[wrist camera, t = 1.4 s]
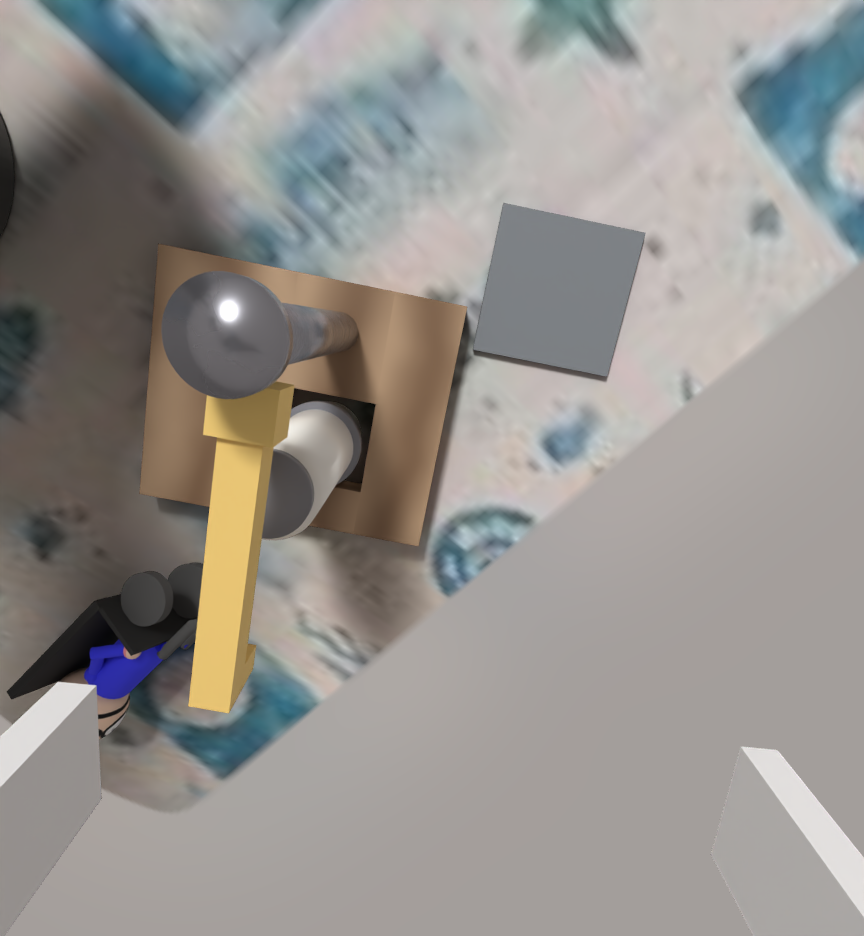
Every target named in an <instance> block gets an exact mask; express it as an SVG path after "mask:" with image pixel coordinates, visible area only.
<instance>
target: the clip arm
mask: <svg viewBox="0 0 864 936" xmlns="http://www.w3.org/2000/svg"><path fill="white" fill-rule="evenodd" d="M294 386H295V385H292V384H287V383H282V382H277V381H276V382H275V383H273V384H272V385H271V386H270V387H268V388H266V389H265V390H263V391H260V392H258V393H256V394H253V395H250V396H247V397H243V398H238V399H220V398H215V397H211V396H208V395H207V400H206V410H205V420H204V429H203V435H207V436H213V437H217V443H216V453H215V462H214V471H213V481H212V490H211V500H210V509H209V518H208V528H207V537H206V546H205V556H204V565H203V574H202V584H201V593H200V602H199V612H198V621H197V630H196V640H195V649H194V658H193V668H192V677H191V686H190V696H189V705H188V706H190V707H196V708H202V709H207V710H213V711H219V712H224V713H229V712H230V710H231V708H232V707H233V705H234V703H235V701H236V699H237V697H238V696H239V694H240V692H241V690H242V688H243V686H244V685H245V683H246V681H247V679H248V677H249V675H250V674H251V672H252V670H253V665H254V658H255V650H256V645H252V644H248V638H249V630H250V623H251V615H252V608H253V600H254V593H255V585H256V577H257V570H258V562H259V555H260V547H261V539H262V532H263V524H264V517H265V509H266V502H267V494H268V486H269V479H270V471H271V464H272V456H273V449H274V447H275V446H276V445H277V444H279V443H280V442H281V441H283V440H284V439H286V438H287V437H288V430H289V422H290V415H291V408H292V400H293V393H294Z"/></svg>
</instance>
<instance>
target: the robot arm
mask: <svg viewBox="0 0 864 936" xmlns="http://www.w3.org/2000/svg"><path fill="white" fill-rule="evenodd" d="M13 191H14V167H13V158H12V151H11V147H10V142H9V138H8V135H7V131H6V128H5V126H4V123H3V120H2V118H1V115H0V235H1V234H2V231H3V229H4V227H5V225H6V222H7V219H8V216H9V213H10V209H11V204H12V199H13ZM101 799H102V796H101V774H100V752H99V730H98V707H97V685H87V684H76V683H66V682H57V683H56V684H55V685H54V686H53V687H52V688H51V689H50V690H49V691H48V692H47V693H46V694H45V695H44V696H43V697H41V698H40V699H39V700H38V701H37V702H36V703H35V704H34V705H33V706H32V707H31V708H30V709H29V710H28V711H27V712H26V713H24V714H23V715H22V716H21V717H20V718H19V719H18V720H17V721H16V722H15V723H14V724H13V725H12V726H11V727H10V728H9V729H7V731H5V732H4V733H3V734H2V735H1V736H0V936H5V934H6V933H7V931H8V930H9V929H10V927H11V926H12V924H13V923H14V922H15V920H16V919H17V917H18V916H19V915H20V913H21V912H22V910H23V909H24V907H25V906H26V905H27V903H28V902H29V900H30V899H31V898H32V896H33V895H34V893H35V892H36V891H37V889H38V888H39V886H40V885H41V883H42V882H43V881H44V879H45V878H46V876H47V875H48V874H49V872H50V871H51V869H52V868H53V867H54V865H55V864H56V862H57V861H58V860H59V858H60V857H61V855H62V854H63V852H64V851H65V849H66V848H67V847H68V845H69V844H70V843H71V841H72V839H73V838H74V837H75V835H76V834H77V833H78V831H79V830H80V828H81V827H82V826H83V824H84V822H85V821H86V820H87V819H88V817H89V816H90V814H91V813H92V812H93V810H94V809H95V807H96V806H97V804H98V803H99V802H100V800H101ZM711 856H712V857H713V860H714V862H715V863H716V865H717V867H718V869H719V871H720V873H721V875H722V877H723V879H724V881H725V883H726V884H727V887H728V889H729V890H730V892H731V894H732V896H733V898H734V900H735V902H736V904H737V906H738V908H739V910H740V912H741V914H742V916H743V918H744V919H745V921H746V923H747V925H748V927H749V929H750V931H751V933H752V935H753V936H864V858H863V856H862V855H861V854H860V852H859V851H858V850H857V849H856V848H855V846H854V845H853V844H852V842H851V841H850V840H849V839H848V837H847V836H846V835H845V834H844V832H843V831H842V830H841V829H840V827H839V826H838V825H837V824H836V822H835V821H834V820H833V819H832V818H831V816H830V815H829V814H828V812H827V811H826V810H825V809H824V808H823V806H822V805H821V804H820V803H819V801H818V800H817V799H816V798H815V796H814V795H813V794H812V793H811V791H810V790H809V789H808V788H807V787H806V785H805V784H804V783H803V781H802V780H801V779H800V778H799V776H798V775H797V774H796V773H795V771H794V770H793V769H792V768H791V766H790V765H789V764H788V763H787V761H786V760H785V759H784V758H783V756H782V755H781V754H780V753H779V751H778V750H771V749H760V748H749V747H740V751H739V755H738V758H737V762H736V765H735V769H734V772H733V776H732V780H731V783H730V787H729V791H728V794H727V798H726V802H725V805H724V809H723V812H722V816H721V820H720V823H719V827H718V830H717V834H716V838H715V841H714V845H713V849H712V852H711Z"/></svg>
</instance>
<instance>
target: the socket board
mask: <svg viewBox="0 0 864 936" xmlns="http://www.w3.org/2000/svg"><path fill="white" fill-rule="evenodd" d="M211 271H225V272H232V273H236V274H239V275H243V276H247V277H250V278H252V279H254V280H257V281H258V282H260V283H262V284H263V285H265V286H266V287H267V288H269V289H270V290H271V291H272V292H273V293H274V294H275V295H276V296H277V298H278V299H279V300H280V301H281V303H288V304H294V305H300V306H307V307H313V308H319V309H326V310H332V311H338V312H344V313H346V314H348V315H350V316H351V317H352V318H353V319H354V320H355V322H356V324H357V326H358V338H357V341H356V343H355V344H354V345H353V346H352V347H351V348H350V349H348V350H345V351H342V352H338V353H334V354H330V355H326V356H322V357H318V358H314V359H310V360H306V361H302V362H298V363H294V364H290V365H287V367H286V369H285V371H284V372H283V374H282V375H281V376H280V378H279V379H278V380H277V382H282V383H287V384H292V385H295V386H294V388H297V389H302V390H307V391H312V392H317V393H322V394H327V395H332V396H337V397H343V398H348V399H353V400H358V401H363V402H368V403H373V404H376V406H375V411H374V417H373V423H372V429H371V434H370V440H369V446H368V452H367V458H366V463H365V469H364V475H363V481H362V484H360V483H355V482H350V481H345V480H343V481H342V482H340V483H339V484H337V485H336V486H335V487H334V489H333V490H332V492H331V493H330V495H329V496H328V498H327V500H326V501H325V503H324V504H323V506H322V507H321V509H320V510H319V512H318V513H317V515H316V516H315V518H314V519H313V521H312V522H311V523H310V525H309V526H313V527H319V528H324V529H329V530H335V531H340V532H345V533H350V534H356V535H361V536H366V537H372V538H377V539H382V540H388V541H393V542H398V543H404V544H409V545H414V546H419V541H420V536H421V532H422V527H423V522H424V517H425V512H426V507H427V502H428V497H429V492H430V487H431V482H432V477H433V473H434V468H435V463H436V458H437V453H438V448H439V443H440V438H441V433H442V428H443V423H444V418H445V414H446V409H447V404H448V399H449V394H450V389H451V384H452V379H453V374H454V369H455V364H456V359H457V355H458V350H459V345H460V340H461V335H462V330H463V325H464V320H465V315H466V310H467V306H462V305H457V304H452V303H447V302H442V301H437V300H432V299H427V298H423V297H418V296H413V295H408V294H403V293H398V292H393V291H388V290H383V289H378V288H374V287H369V286H364V285H359V284H354V283H349V282H344V281H339V280H334V279H329V278H325V277H320V276H315V275H310V274H305V273H300V272H295V271H290V270H285V269H280V268H276V267H271V266H266V265H261V264H256V263H251V262H246V261H241V260H236V259H231V258H227V257H222V256H217V255H212V254H207V253H202V252H197V251H192V250H187V249H182V248H178V247H173V246H168V245H163V244H158V254H157V267H156V281H155V294H154V307H153V320H152V334H151V347H150V360H149V373H148V387H147V400H146V413H145V426H144V440H143V453H142V466H141V479H140V493H139V494H143V495H149V496H154V497H159V498H165V499H170V500H175V501H180V502H186V503H191V504H196V505H202V506H207V507H210V500H211V490H212V481H213V471H214V462H215V453H216V443H217V437H213V436H207V435H203V429H204V420H205V410H206V400H207V395H206V394H203V393H201V392H199V391H197V390H196V389H194V388H193V387H191V386H190V385H188V384H187V383H186V382H185V381H184V380H183V379H182V378H181V377H180V376H179V375H178V374H177V373H176V371H175V370H174V368H173V367H172V365H171V363H170V362H169V360H168V358H167V355H166V352H165V350H164V346H163V342H162V334H161V326H162V318H163V313H164V310H165V307H166V305H167V303H168V300H169V299H170V297H171V296H172V294H173V293H174V292H175V290H176V289H177V288H178V287H179V286H180V285H181V284H183V283H184V282H185V281H187V280H188V279H190V278H192V277H194V276H196V275H198V274H202V273H205V272H211Z"/></svg>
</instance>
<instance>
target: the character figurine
mask: <svg viewBox="0 0 864 936" xmlns="http://www.w3.org/2000/svg"><path fill="white" fill-rule="evenodd" d="M203 565H204V564H202V563H189V564H184V565H181V566H179V567H177V568H176V569H174V570H173V571H172V573H171V574H170V576H169V578H168V580H167V579H166V578H165V577H164V576H163V575H161V574H159V573H157V572H153V571H147V572H143V573H138V574H135V575H133V576H131V577H130V578H129V579H128V580H127V581H126V582H125V584H124V586H123V588H122V592H121V594H120V595H116V596H112V597H108V598H104V599H100V600H96V601H94V602H93V603H92V604H91V605H90V606H89V607H88V608H87V609H86V610H85V611H84V612H83V613H82V614H81V615H80V616H79V618H78V619H77V620H76V621H75V622H74V623H73V624H72V625H71V626H70V627H69V628H68V629H67V630H66V631H65V632H64V633H63V634H62V635H61V636H60V637H59V638H58V639H57V640H56V641H55V642H54V643H53V644H52V645H51V647H50V648H49V649H48V650H47V651H46V652H45V653H44V654H43V655H42V656H41V657H40V658H39V659H38V660H37V661H36V662H35V663H34V664H33V665H32V666H31V667H30V668H29V669H28V670H27V671H26V672H25V673H24V674H23V676H22V677H21V678H20V679H19V680H18V681H17V682H16V683H15V684H14V685H13V686H12V687H11V688H10V689H9V690H8V691H7V693H8V694H9V696H10V698H11V699H14V698H16V697H19V696H21V695H24V694H27V693H29V692H32V691H34V690H37V689H39V688H42V687H45V686H47V685H50V684H52V683H55V682H57V681H59V682H66V683H76V684H87V685H97V707H98V730H99V739H101V738H103V737H105V736H106V735H108V734H109V733H110V732H112V731H113V730H114V729H115V728H116V727H117V726H118V725H119V724H120V722H121V721H122V720H123V718H124V716H125V714H126V712H127V710H128V707H129V701H130V692H131V691H132V690H133V689H134V688H135V687H136V686H137V685H138V684H139V683H140V682H141V681H142V680H143V679H144V678H145V677H146V676H147V675H148V674H149V673H150V672H151V671H152V670H153V669H154V668H155V667H156V666H157V665H158V664H159V663H160V662H161V661H162V660H166V659H167V658H168V657H169V656H170V655H171V654H172V653H173V652H174V651H175V650H176V649H177V648H178V647H179V646H180V647H181V648H182V649H184V650H186V649H188V648H189V647H190V646H191V645H192V644H193V643H194V642H195V640H196V630H197V621H198V612H199V602H200V593H201V584H202V574H203Z"/></svg>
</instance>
